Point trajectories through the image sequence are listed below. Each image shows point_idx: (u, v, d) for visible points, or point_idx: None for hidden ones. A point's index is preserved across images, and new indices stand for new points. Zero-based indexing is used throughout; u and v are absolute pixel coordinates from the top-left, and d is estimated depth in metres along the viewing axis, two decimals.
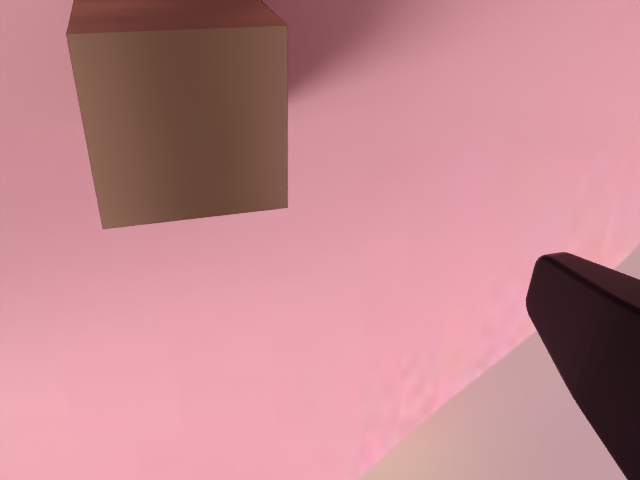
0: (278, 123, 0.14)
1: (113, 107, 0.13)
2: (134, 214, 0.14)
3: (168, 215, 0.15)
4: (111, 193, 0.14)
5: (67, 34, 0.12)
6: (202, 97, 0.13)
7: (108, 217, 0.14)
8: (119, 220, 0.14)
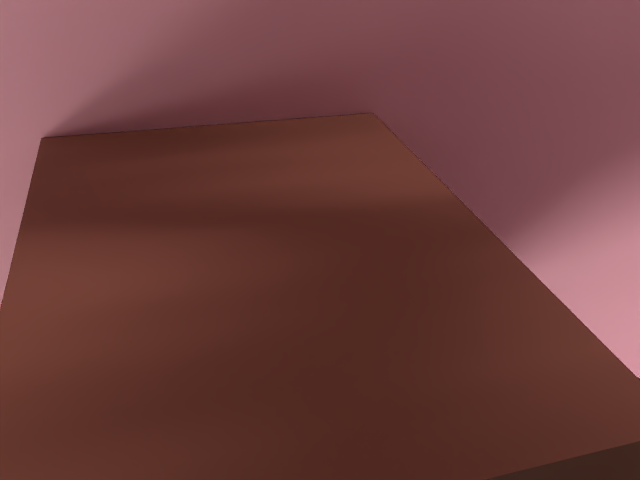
0: None
1: None
2: None
3: None
4: None
5: None
6: None
7: None
8: None
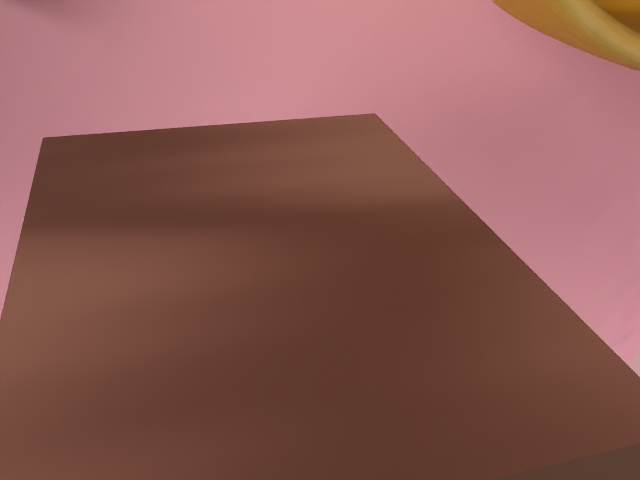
0: None
1: None
2: None
3: None
4: None
5: None
6: None
7: None
8: None
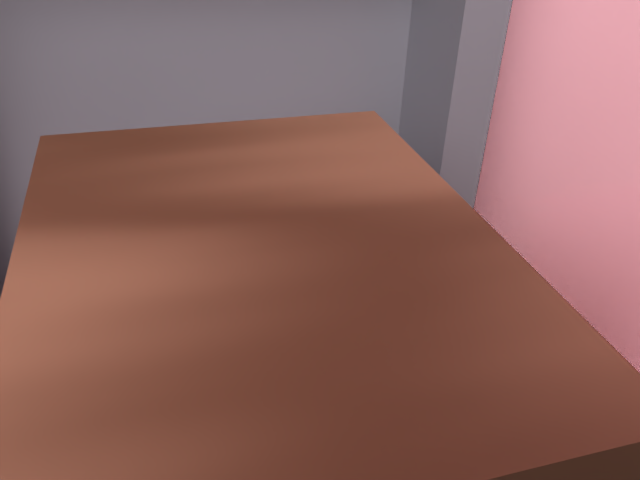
0: None
1: None
2: None
3: None
4: None
5: None
6: None
7: None
8: None
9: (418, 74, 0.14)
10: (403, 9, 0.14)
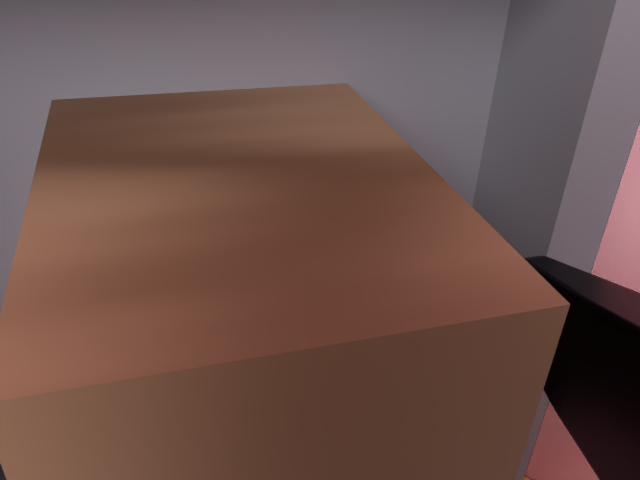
0: (497, 478, 0.06)
1: None
2: None
3: None
4: None
5: None
6: (342, 466, 0.05)
7: None
8: None
9: (509, 141, 0.11)
10: (489, 57, 0.10)
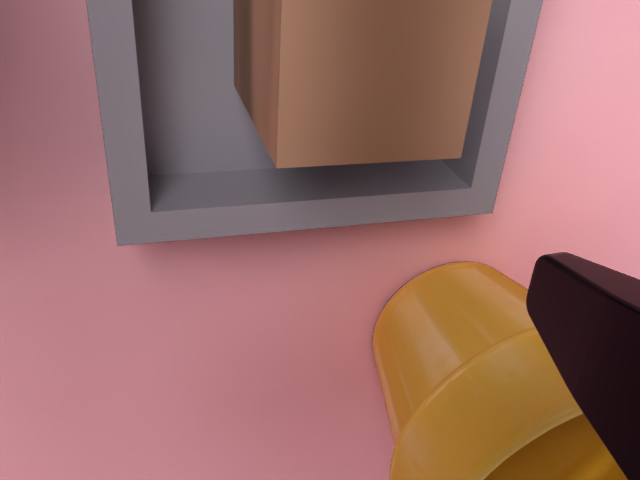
0: (471, 62, 0.13)
1: (314, 30, 0.12)
2: (310, 153, 0.13)
3: (344, 158, 0.14)
4: (292, 128, 0.13)
5: None
6: (403, 25, 0.13)
7: (284, 155, 0.13)
8: (294, 159, 0.13)
9: None
10: None
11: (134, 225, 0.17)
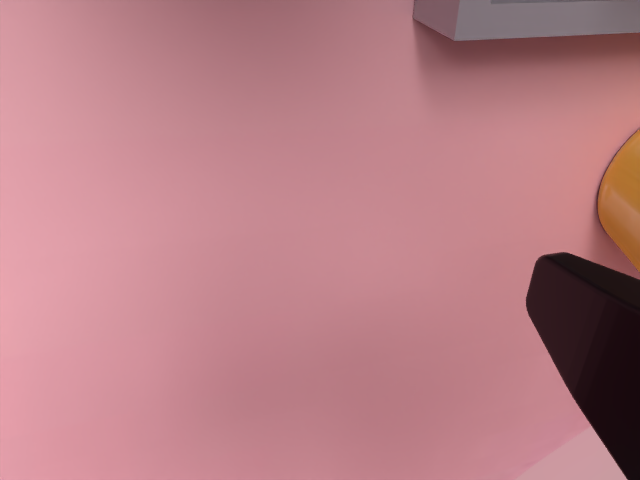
0: None
1: None
2: None
3: None
4: None
5: None
6: None
7: None
8: None
9: None
10: None
11: (473, 18, 0.18)
